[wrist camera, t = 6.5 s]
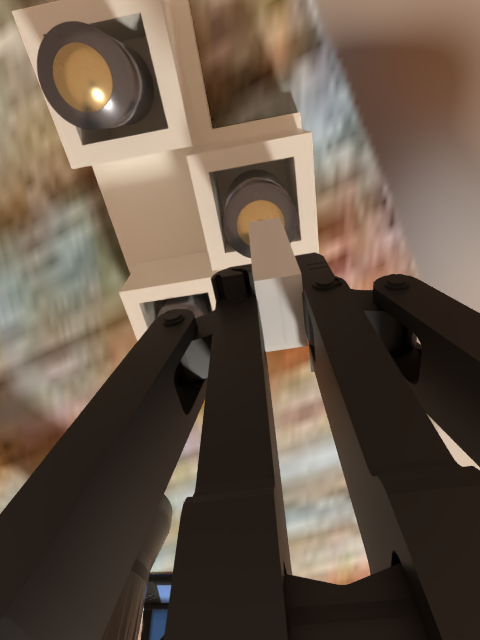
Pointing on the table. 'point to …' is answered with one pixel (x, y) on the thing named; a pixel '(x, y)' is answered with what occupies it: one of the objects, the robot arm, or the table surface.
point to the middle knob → (256, 207)
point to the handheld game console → (156, 607)
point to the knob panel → (173, 156)
